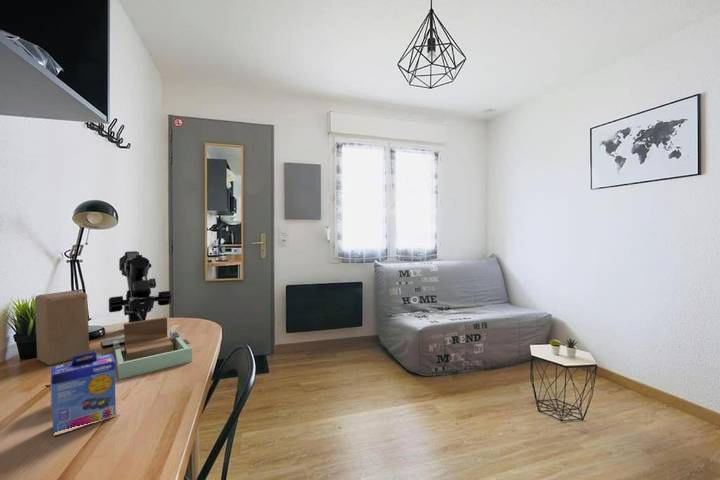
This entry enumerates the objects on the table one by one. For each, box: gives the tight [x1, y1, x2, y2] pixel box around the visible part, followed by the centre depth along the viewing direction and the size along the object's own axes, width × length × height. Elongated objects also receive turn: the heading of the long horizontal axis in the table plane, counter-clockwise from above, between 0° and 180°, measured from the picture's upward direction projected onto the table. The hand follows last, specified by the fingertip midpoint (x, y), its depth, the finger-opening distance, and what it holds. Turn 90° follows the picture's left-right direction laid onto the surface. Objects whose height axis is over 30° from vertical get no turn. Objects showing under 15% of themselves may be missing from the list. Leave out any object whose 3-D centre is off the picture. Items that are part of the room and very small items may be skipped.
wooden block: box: [34, 290, 90, 366], centre depth 99 cm, size 10×10×20 cm
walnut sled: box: [123, 316, 174, 361], centre depth 104 cm, size 12×12×9 cm
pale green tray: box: [111, 329, 193, 380], centre depth 100 cm, size 28×23×4 cm
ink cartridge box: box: [50, 351, 117, 434], centre depth 65 cm, size 10×6×14 cm, turn 135°
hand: (143, 320), depth 112 cm, fingers closed
